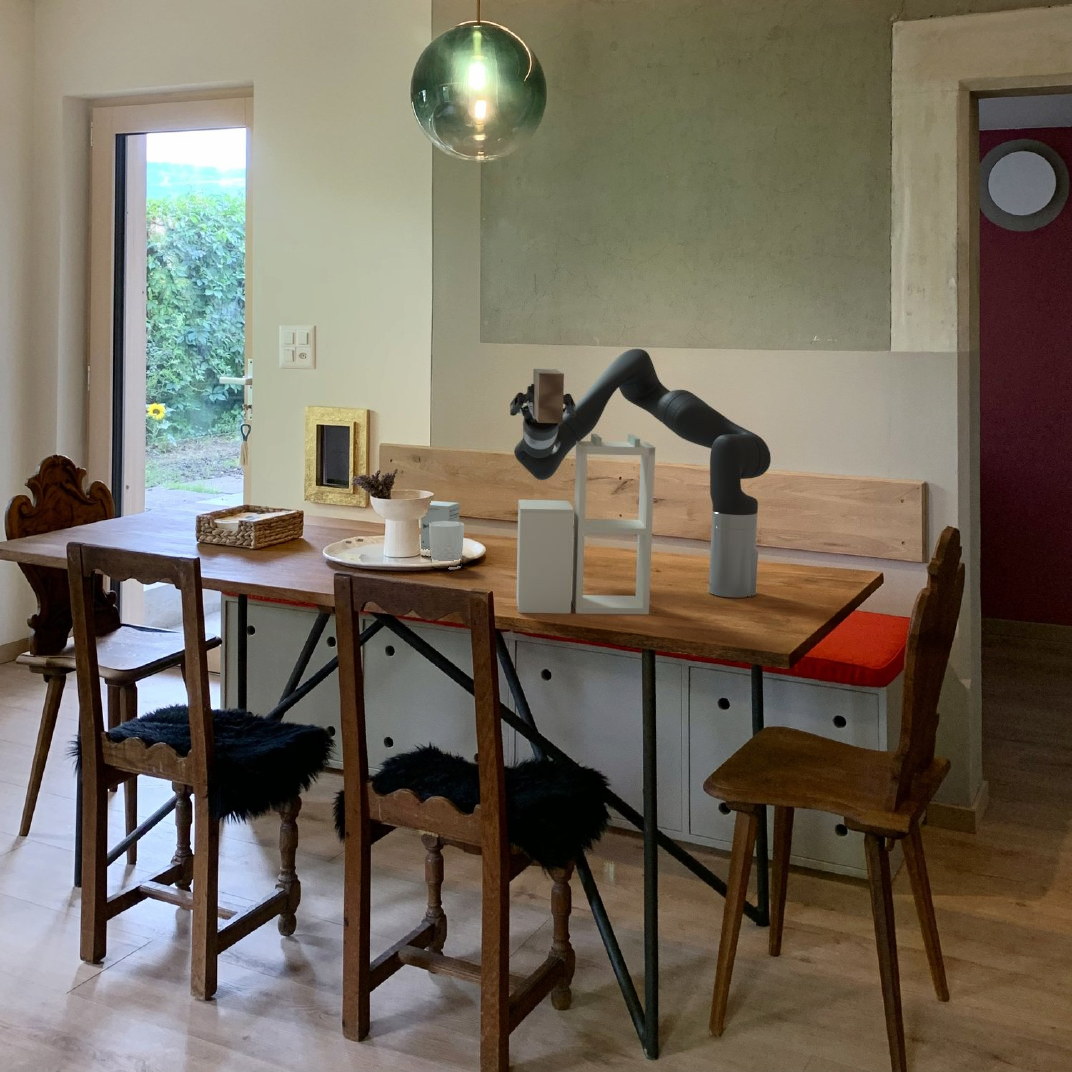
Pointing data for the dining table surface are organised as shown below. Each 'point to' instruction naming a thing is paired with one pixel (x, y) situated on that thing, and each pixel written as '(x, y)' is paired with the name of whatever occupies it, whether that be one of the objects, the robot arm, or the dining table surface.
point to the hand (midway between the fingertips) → (545, 388)
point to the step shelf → (581, 541)
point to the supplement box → (437, 518)
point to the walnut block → (548, 395)
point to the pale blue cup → (446, 541)
